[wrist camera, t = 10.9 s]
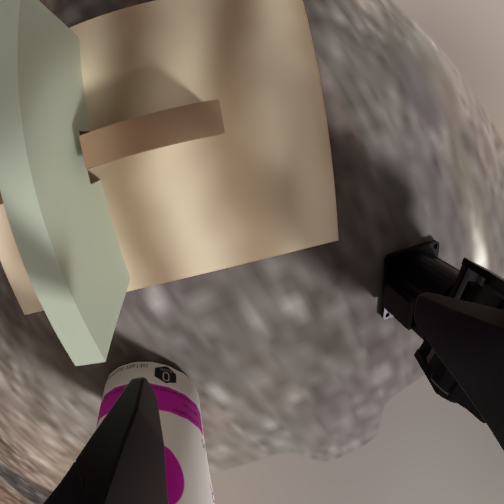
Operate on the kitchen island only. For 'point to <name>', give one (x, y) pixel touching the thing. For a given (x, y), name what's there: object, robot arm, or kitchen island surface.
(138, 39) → the birch board
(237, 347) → the kitchen island surface
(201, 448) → the supplement can
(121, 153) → the walnut slotted plate
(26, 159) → the sage slotted plate
